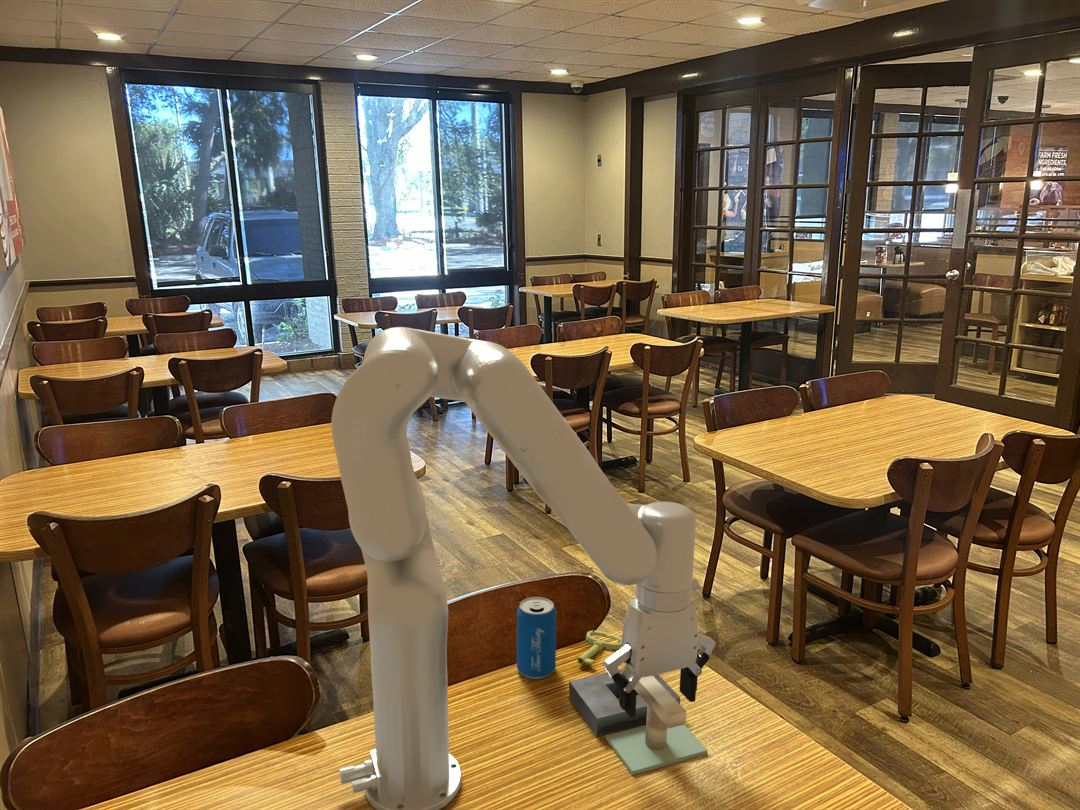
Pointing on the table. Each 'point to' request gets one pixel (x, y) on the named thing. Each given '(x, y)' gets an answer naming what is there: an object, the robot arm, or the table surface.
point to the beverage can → (536, 637)
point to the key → (598, 646)
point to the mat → (645, 758)
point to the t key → (659, 711)
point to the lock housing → (608, 703)
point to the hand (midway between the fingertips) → (658, 703)
